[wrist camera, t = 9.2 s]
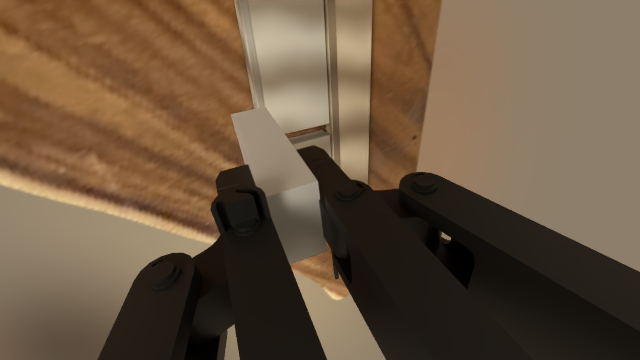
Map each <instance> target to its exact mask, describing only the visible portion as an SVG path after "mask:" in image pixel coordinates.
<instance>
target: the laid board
mask: <svg viewBox="0 0 640 360" xmlns="http://www.w3.org/2000/svg"><path fill="white" fill-rule="evenodd" d="M323 3H324V23H325V43H326V63H327V83H328V103H329V124H326V133H328V134H329V135H330V144H331V158H332V159H333V160H334V162H336V164H337V165H338V166H339V167H340V168H341V169H342V170H343V171H344V173H345V174H346V175H347V176H348V177H349V178H350V179H351V180H358V181H362V182H364V183H366V184H367V185H368V154H369V115H370V75H371V36H372V0H323Z"/></svg>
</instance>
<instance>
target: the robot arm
mask: <svg viewBox="0 0 640 360" xmlns="http://www.w3.org/2000/svg"><path fill="white" fill-rule="evenodd" d="M231 116H232V120H233V123H234V127H235V130H236V134H237V137H238V141H239V144H240V148H241V151H242V155H243V158H244V162H245V165H243V166H239V167H235V168H232V169H228V170H224V171H221V172H220V173H219V175H218V177H217V179H216V186H217V193H218V196H217V197H216V198H215V200H214V201H213V202H212V204H211V209H210V210H211V212H212V215H213V217H214V220H215V222H216V224H217V227H218V229H219V232H220V234H221V235H220V237H219V238H218V239H217V241H216V242H215V243H214V244H213V245H212V246H210V247H209V248H208V249H206V250H205V251H203V252H201V253H200V254H198V255H196V256H195V257H193V258H191V256H190V255H187V254H185V253H171V254H168V255H165V256H161V257H159V258H157V259H156V260H154V261H152V262H150V263H149V264H148V265H147V266H146V267H145V268H144V269H142V270H141V271H140V273H139V274H138V275H137V277H136V279H135V280H134V282H133V284H132V286H131V288H130V291H129V293H128V295H127V297H126V299H125V301H124V303H123V306H122V308H121V310H120V312H119V314H118V317H117V319H116V321H115V323H114V325H113V327H112V329H111V332H110V334H109V336H108V338H107V340H106V343H105V345H104V347H103V349H102V351H101V353H100V356H99V358H98V360H224V356H225V348H226V340H227V329H228V328H230V327H231V326H232V325H234V324H235V330H236V337H237V343H238V350H239V356H240V360H327V358H326V356H325V353H324V351H323V348H322V346H321V343H320V340H319V338H318V336H317V333H316V330H315V328H314V325H313V323H312V320H311V318H310V315H309V312H308V310H307V307H306V305H305V302H304V300H303V297H302V295H301V292H300V289H299V287H298V284H297V282H296V279H295V277H294V274H293V272H292V269H291V266H290V264H293V263H296V262H298V261H301V260H304V259H306V258H309V257H312V256H315V255H317V254H320V253H323V252H325V251H327V247H326V241H327V243H328V245H329V246H330V248H331V252H332V260H333V269H334V275H335V279H338V278H339V275H338V272H339V274H340V276H341V278H342V280H343V281H344V283H345V285H346V287H347V289H348V291H349V292H350V294H351V296H352V298H353V300H354V302H355V303H356V305H357V307H358V309H359V311H360V313H361V314H362V316H363V318H364V320H365V322H366V324H367V325H368V327H369V329H370V331H371V333H372V335H373V336H374V338H375V340H376V342H377V344H378V346H379V348H380V349H381V351H382V353H383V355H384V357H385V359H386V360H640V272H639V271H636V270H634V269H632V268H630V267H628V266H626V265H624V264H622V263H620V262H618V261H616V260H614V259H611V258H609V257H607V256H605V255H603V254H601V253H599V252H597V251H595V250H593V249H591V248H589V247H587V246H584V245H582V244H580V243H578V242H576V241H574V240H572V239H570V238H568V237H566V236H563V235H561V234H559V233H557V232H555V231H553V230H551V229H549V228H547V227H545V226H543V225H540V224H538V223H536V222H534V221H532V220H530V219H528V218H526V217H524V216H522V215H520V214H517V213H516V212H513V211H512V210H509V209H507V208H505V207H503V206H501V205H499V204H497V203H495V202H493V201H491V200H489V199H487V198H484V197H482V196H480V195H478V194H476V193H474V192H472V191H470V190H468V189H466V188H464V187H461V186H459V185H457V184H455V183H453V182H451V181H449V180H447V179H445V178H443V177H441V176H438V175H435V174H432V173H425V172H416V173H411V174H408V175H405V176H404V177H403V178H402V179H401V180H400V184H399V189H391V190H372V188H371V187H370V186H368V185H367V184H366V183H364V182H362V181H358V180H351V179H350V178H349V177H348V176H347V175H346V174H345V173H344V171H343V170H342V169H341V168H340V167H339V166H338V165H337V164H336V162H334V160H333V159H332V158H331V157H330V156H329V154H328V153H327V152H326V151H325V150H324V149H322V148H320V147H317V146H315V145H312V146H308V147H305V148H301V149H297V150H296V149H295V148H294V147H293V145H292V144H291V142H290V141H289V139H288V138H287V137H286V135H285V134H284V132H283V131H282V130H281V128H280V127H279V125H278V124H277V122H276V121H275V120H274V118H273V117H272V115H271V114H270V113H269V111H268V110H267V108H266V107H261V108H256V109H252V110H248V111H243V112H239V113H235V114H231ZM442 232H443V233H445V234H446V235H448V236H449V237H451V240H446V239H444V238H442V237H441V235H442ZM325 239H326V240H325Z"/></svg>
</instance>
